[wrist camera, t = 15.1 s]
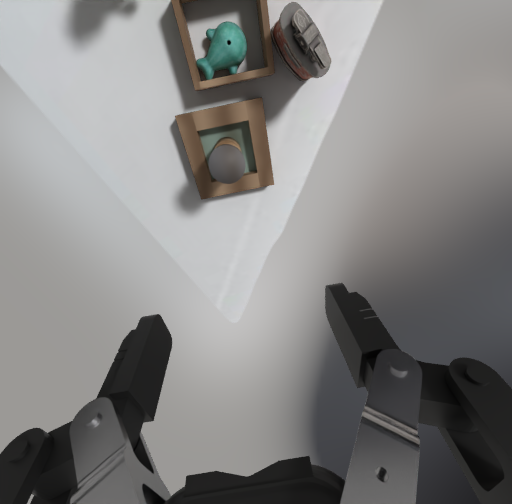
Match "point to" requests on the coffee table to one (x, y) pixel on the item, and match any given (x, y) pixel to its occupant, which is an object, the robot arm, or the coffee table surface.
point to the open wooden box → (202, 85)
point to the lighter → (300, 43)
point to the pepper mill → (227, 161)
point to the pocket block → (237, 127)
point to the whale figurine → (223, 50)
